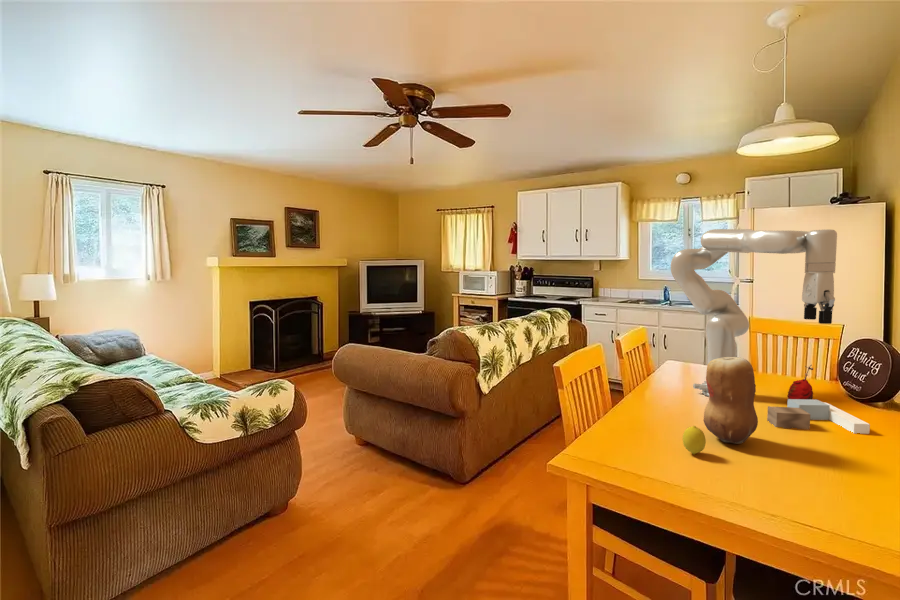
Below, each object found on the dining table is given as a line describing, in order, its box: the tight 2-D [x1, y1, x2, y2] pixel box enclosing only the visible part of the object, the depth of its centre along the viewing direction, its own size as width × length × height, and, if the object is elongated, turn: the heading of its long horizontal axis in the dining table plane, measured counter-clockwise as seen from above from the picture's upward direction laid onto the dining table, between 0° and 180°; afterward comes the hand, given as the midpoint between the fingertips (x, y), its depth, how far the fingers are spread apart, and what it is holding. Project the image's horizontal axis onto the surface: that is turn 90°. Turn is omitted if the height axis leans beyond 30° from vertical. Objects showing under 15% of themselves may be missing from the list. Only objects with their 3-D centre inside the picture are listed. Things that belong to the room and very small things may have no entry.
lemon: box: [682, 425, 707, 455], centre depth 120 cm, size 6×6×8 cm
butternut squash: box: [702, 357, 759, 445], centre depth 127 cm, size 14×13×25 cm
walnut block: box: [766, 405, 811, 430], centre depth 139 cm, size 9×6×5 cm, turn 77°
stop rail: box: [822, 401, 871, 435], centre depth 141 cm, size 4×20×3 cm, turn 169°
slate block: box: [786, 398, 831, 421], centre depth 146 cm, size 9×6×5 cm, turn 83°
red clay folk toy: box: [786, 364, 814, 400], centre depth 157 cm, size 8×7×15 cm
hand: (817, 321), depth 142 cm, fingers open, 9 cm apart
